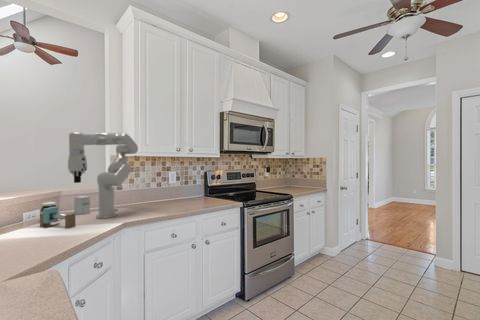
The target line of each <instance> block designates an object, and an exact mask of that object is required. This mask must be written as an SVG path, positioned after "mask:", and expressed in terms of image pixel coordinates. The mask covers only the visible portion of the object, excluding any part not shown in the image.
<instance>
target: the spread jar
mask: <svg viewBox="0 0 480 320" xmlns="http://www.w3.org/2000/svg"><path fill="white" fill-rule="evenodd" d="M50 207H58V206H57V205H56V201H48V202H42V207H41V209H40V214H42V213H43V209H45V208H50ZM58 214H62V212H61V211H59V210H58ZM60 220H61V219H58V221H60Z"/></svg>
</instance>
